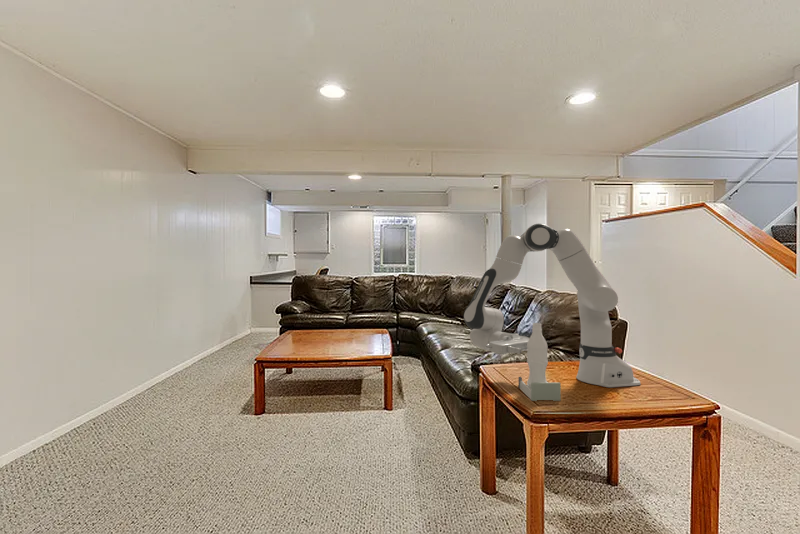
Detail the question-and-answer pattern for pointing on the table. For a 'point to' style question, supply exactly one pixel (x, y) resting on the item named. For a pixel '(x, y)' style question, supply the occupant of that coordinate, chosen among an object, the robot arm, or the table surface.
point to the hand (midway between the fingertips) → (528, 349)
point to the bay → (542, 390)
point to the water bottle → (537, 356)
